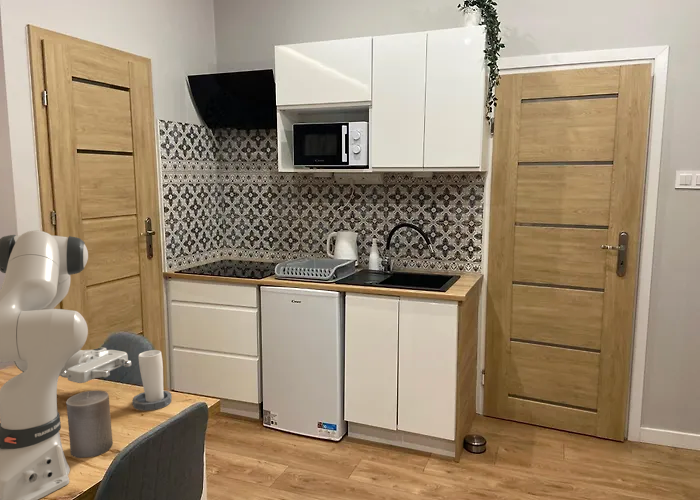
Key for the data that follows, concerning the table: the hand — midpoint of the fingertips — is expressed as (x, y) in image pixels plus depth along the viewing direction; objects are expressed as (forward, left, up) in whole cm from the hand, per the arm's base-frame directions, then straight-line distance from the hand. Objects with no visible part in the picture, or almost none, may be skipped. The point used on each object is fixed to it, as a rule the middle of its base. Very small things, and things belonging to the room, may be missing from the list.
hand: (119, 368), depth 167 cm
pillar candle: (-29, -16, -10) cm, 35 cm away
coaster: (0, -12, -10) cm, 15 cm away
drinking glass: (+1, -12, -9) cm, 15 cm away
